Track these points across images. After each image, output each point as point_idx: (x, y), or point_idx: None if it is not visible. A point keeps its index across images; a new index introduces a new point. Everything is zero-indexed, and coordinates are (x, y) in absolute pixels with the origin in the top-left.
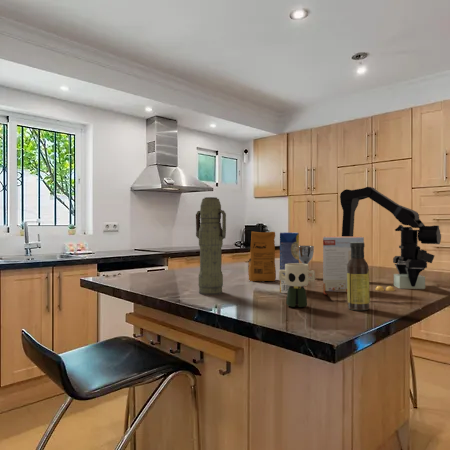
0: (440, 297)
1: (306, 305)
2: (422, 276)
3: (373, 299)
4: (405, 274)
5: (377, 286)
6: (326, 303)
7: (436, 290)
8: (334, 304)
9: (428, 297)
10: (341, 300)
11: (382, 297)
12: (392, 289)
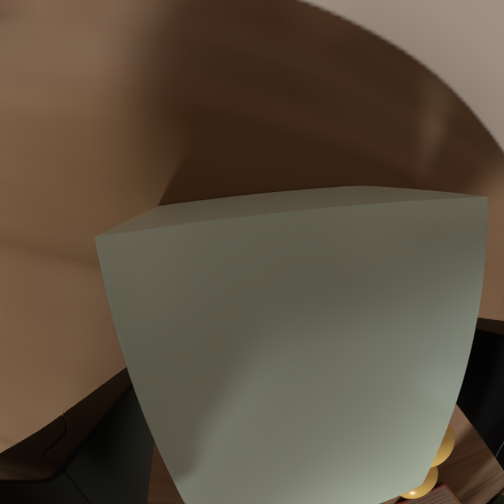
0: (491, 143)
1: (500, 496)
2: (472, 237)
3: (485, 446)
4: (234, 469)
5: (421, 496)
6: (483, 494)
7: (161, 25)
8: (496, 481)
9: (499, 225)
10: (469, 492)
11: (468, 435)
12: (454, 435)
